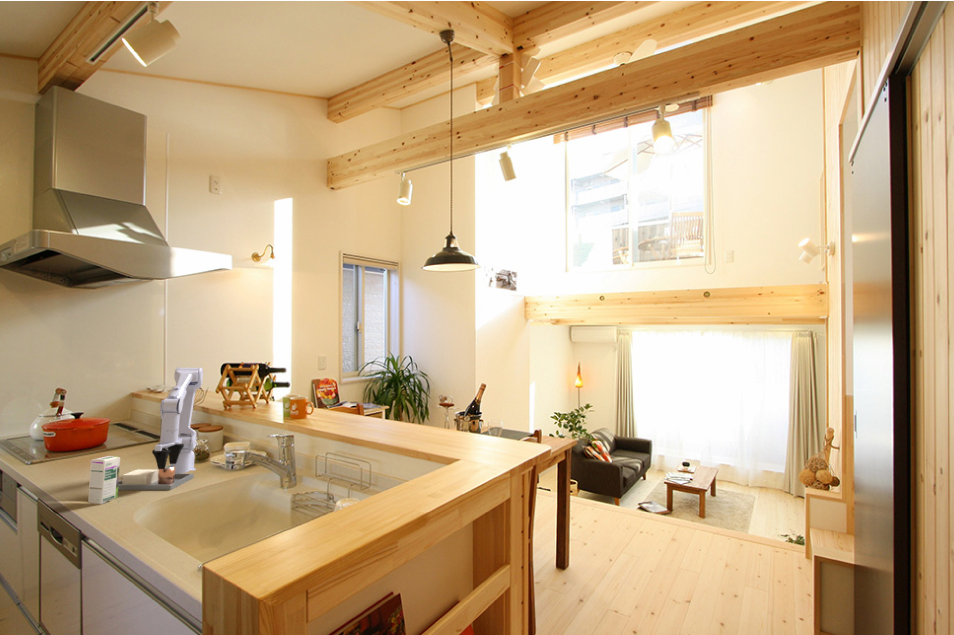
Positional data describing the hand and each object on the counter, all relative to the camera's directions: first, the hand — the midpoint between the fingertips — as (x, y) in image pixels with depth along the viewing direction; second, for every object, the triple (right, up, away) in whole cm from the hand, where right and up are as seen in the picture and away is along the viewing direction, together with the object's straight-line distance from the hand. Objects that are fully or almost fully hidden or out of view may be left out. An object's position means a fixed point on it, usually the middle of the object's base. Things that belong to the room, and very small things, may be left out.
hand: (167, 466), depth 178 cm
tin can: (0, -6, -1) cm, 7 cm away
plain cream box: (-9, -6, -1) cm, 11 cm away
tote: (-5, -7, -1) cm, 9 cm away
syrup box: (-9, -6, -19) cm, 22 cm away
